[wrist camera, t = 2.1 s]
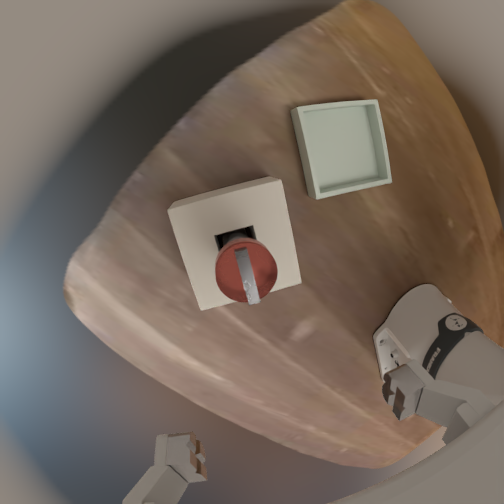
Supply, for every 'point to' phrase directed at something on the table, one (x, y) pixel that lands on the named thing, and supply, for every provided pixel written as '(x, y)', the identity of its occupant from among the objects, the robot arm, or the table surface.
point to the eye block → (228, 219)
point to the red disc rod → (244, 268)
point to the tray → (341, 147)
